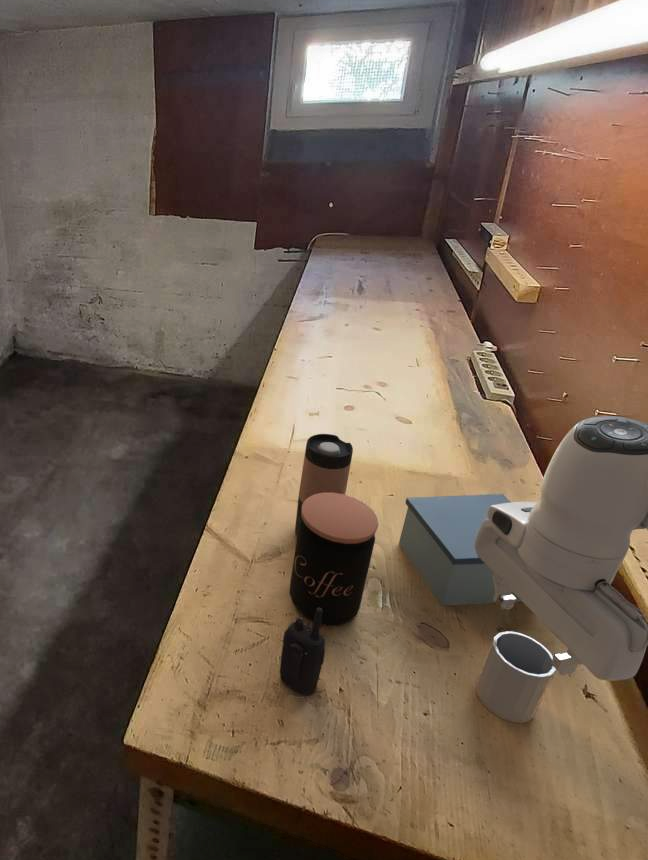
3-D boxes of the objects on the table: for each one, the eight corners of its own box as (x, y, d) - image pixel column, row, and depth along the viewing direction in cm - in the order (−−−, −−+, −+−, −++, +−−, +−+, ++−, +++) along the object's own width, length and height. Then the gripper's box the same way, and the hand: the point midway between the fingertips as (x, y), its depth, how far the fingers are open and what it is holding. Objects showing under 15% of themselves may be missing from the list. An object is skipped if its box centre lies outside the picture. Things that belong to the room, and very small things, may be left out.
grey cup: (522, 681, 77) (542, 636, 73) (543, 727, 72) (566, 681, 68) (469, 672, 79) (485, 627, 75) (485, 716, 73) (504, 671, 69)
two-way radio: (321, 686, 78) (337, 608, 71) (307, 709, 75) (322, 631, 68) (284, 663, 81) (295, 587, 74) (269, 684, 78) (280, 607, 71)
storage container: (487, 538, 102) (502, 493, 98) (545, 603, 89) (566, 554, 84) (395, 542, 102) (406, 497, 98) (439, 607, 89) (455, 559, 84)
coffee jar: (275, 603, 91) (287, 515, 83) (308, 567, 97) (321, 483, 89) (339, 642, 84) (359, 550, 76) (369, 601, 90) (390, 513, 82)
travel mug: (294, 546, 102) (307, 454, 93) (292, 519, 109) (304, 431, 100) (339, 552, 100) (357, 459, 91) (334, 524, 107) (350, 435, 98)
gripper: (686, 622, 55) (631, 712, 61) (525, 493, 73) (495, 572, 79) (627, 629, 54) (577, 719, 60) (479, 498, 72) (453, 577, 78)
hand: (529, 635), depth 70 cm, fingers open, 8 cm apart
